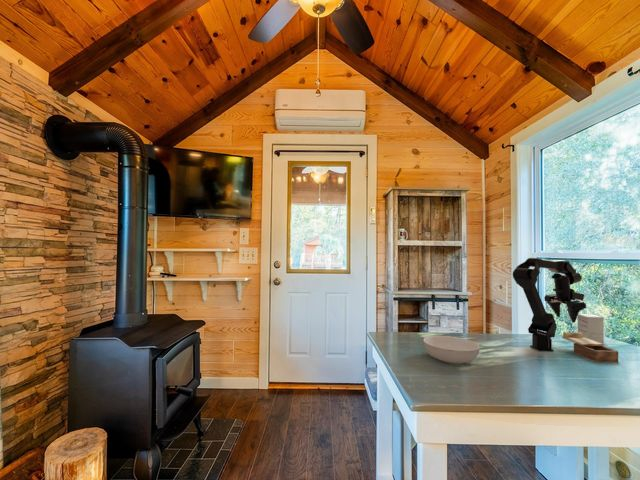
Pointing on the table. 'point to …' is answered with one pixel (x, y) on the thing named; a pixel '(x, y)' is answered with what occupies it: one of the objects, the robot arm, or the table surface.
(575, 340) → the lid
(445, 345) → the serving bowl
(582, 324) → the supplement box
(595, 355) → the walnut box
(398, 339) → the table surface
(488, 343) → the table surface
